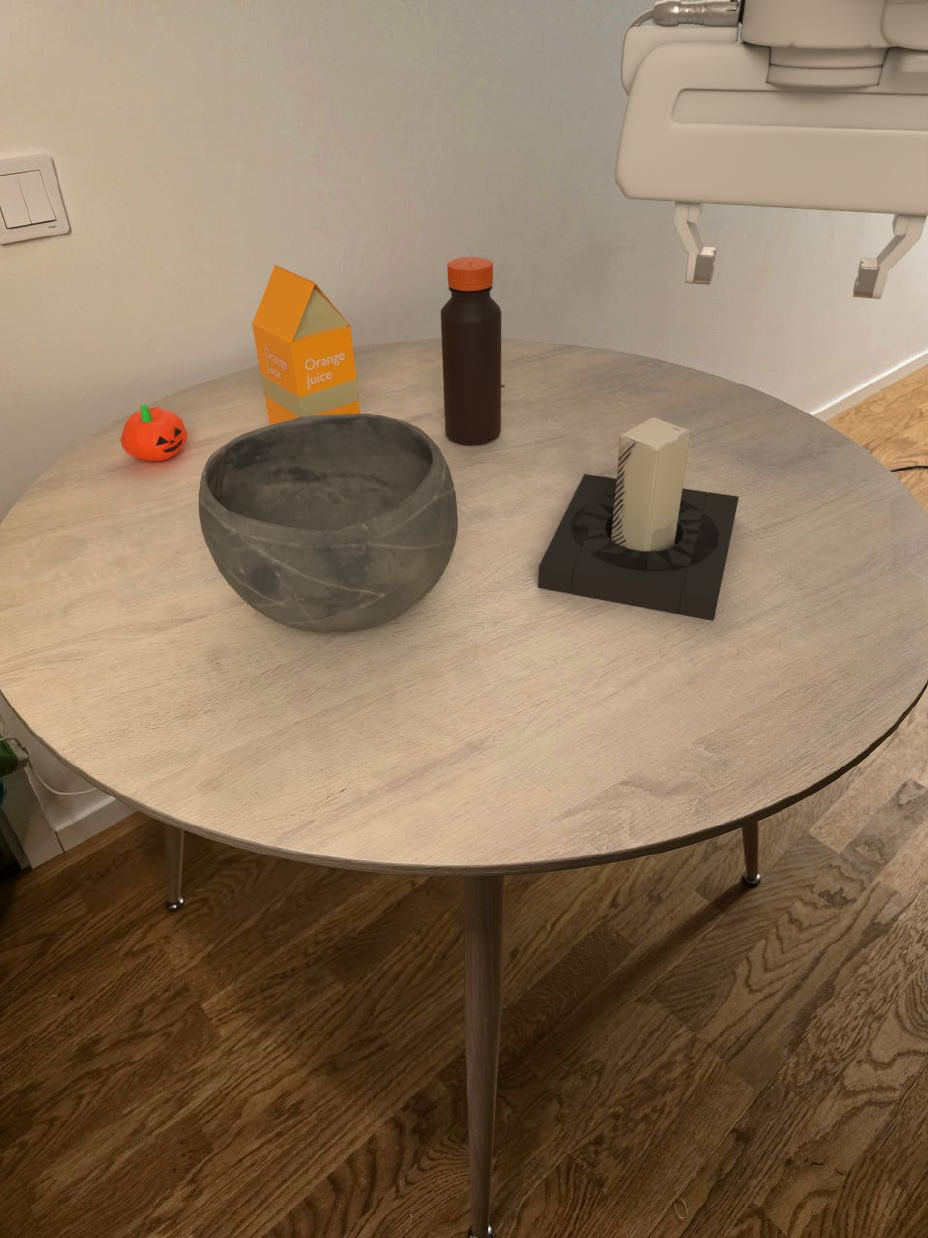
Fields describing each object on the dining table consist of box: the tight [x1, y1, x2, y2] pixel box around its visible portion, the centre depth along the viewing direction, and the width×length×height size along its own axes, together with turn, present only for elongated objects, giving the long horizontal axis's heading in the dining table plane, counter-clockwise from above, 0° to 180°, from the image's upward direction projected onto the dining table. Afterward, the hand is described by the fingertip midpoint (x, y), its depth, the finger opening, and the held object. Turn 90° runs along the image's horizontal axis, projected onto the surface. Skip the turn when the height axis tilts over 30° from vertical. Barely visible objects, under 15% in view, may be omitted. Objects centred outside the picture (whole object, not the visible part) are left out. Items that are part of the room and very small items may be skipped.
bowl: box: [198, 413, 459, 633], centre depth 74 cm, size 21×21×15 cm
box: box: [610, 416, 692, 551], centre depth 80 cm, size 5×4×13 cm
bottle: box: [440, 256, 502, 447], centre depth 99 cm, size 7×7×20 cm
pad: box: [537, 473, 740, 621], centre depth 84 cm, size 16×18×2 cm
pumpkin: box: [120, 403, 188, 462], centre depth 101 cm, size 7×8×6 cm
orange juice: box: [251, 264, 361, 426], centre depth 98 cm, size 8×9×20 cm
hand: (780, 288), depth 51 cm, fingers open, 8 cm apart
